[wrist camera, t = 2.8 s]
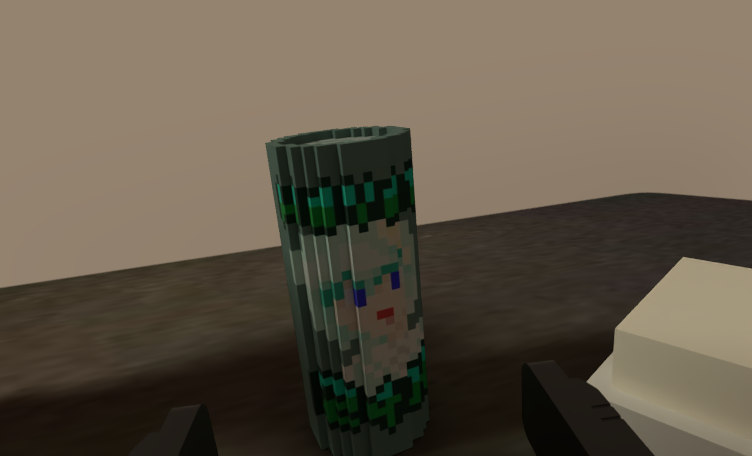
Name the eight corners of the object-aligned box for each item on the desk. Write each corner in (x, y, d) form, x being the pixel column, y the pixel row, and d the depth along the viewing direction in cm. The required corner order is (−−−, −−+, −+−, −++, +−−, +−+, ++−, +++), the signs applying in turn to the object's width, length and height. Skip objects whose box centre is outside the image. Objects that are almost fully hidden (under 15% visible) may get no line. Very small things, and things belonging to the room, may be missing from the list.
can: (335, 479, 22) (287, 152, 17) (299, 404, 27) (256, 139, 23) (448, 432, 24) (432, 131, 20) (395, 371, 29) (373, 123, 25)
